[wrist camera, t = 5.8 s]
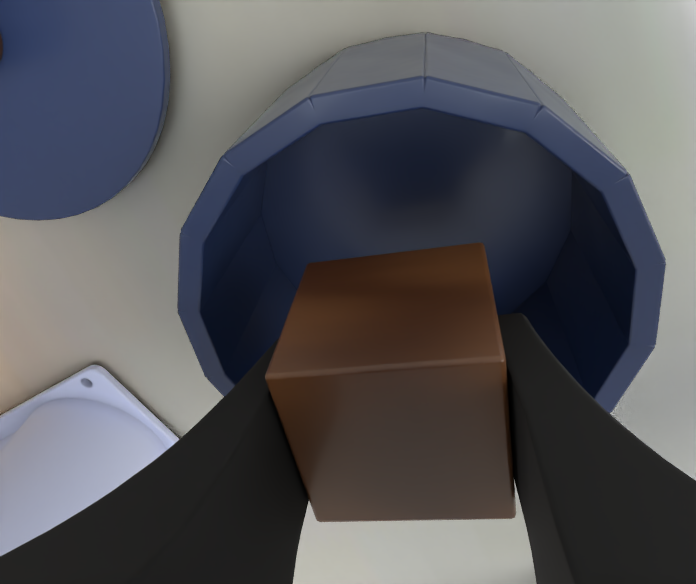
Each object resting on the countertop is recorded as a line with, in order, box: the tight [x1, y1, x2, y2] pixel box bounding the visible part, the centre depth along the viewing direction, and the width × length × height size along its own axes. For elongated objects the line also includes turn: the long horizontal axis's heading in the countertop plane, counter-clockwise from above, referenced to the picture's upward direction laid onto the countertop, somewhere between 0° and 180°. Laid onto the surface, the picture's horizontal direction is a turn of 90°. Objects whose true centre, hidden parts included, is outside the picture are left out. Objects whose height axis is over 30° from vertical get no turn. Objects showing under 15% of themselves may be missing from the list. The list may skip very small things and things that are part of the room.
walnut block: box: [265, 242, 516, 522], centre depth 11 cm, size 4×4×4 cm
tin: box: [177, 32, 666, 413], centre depth 16 cm, size 11×11×6 cm
